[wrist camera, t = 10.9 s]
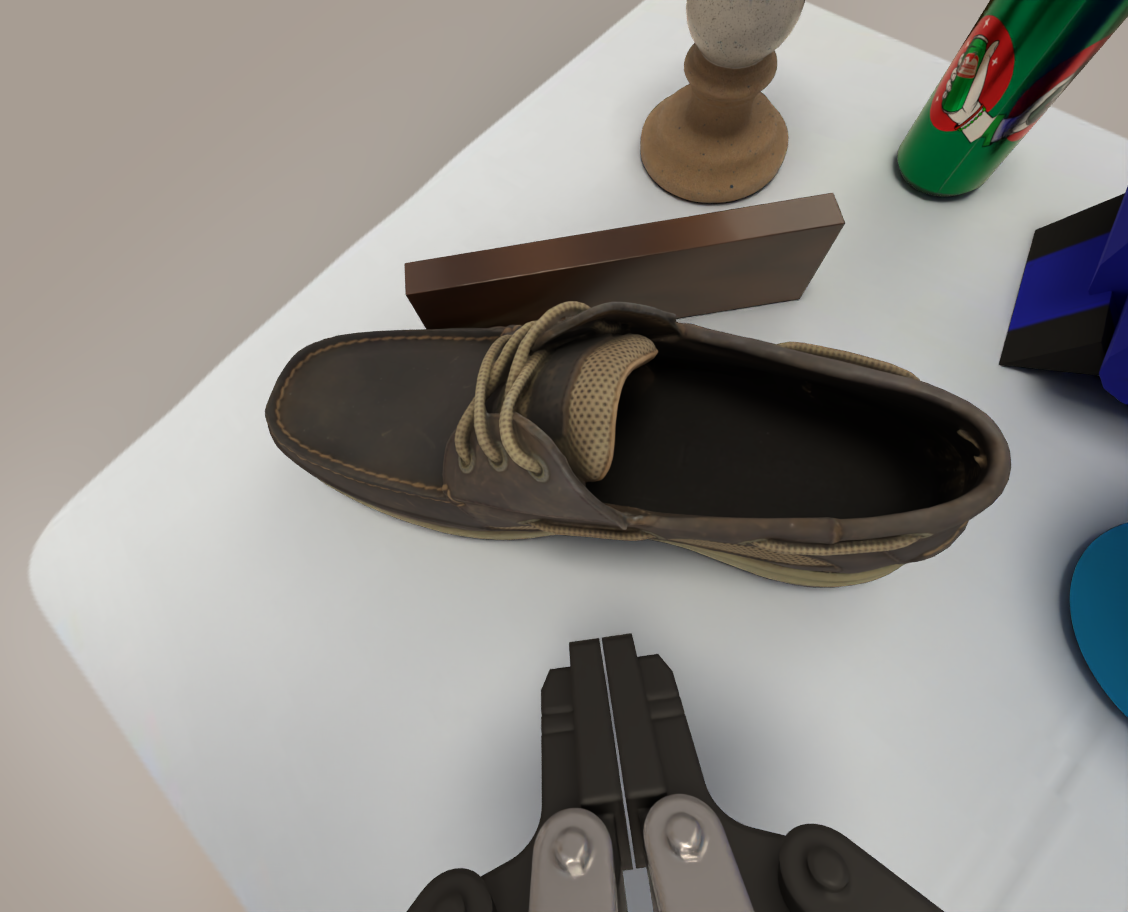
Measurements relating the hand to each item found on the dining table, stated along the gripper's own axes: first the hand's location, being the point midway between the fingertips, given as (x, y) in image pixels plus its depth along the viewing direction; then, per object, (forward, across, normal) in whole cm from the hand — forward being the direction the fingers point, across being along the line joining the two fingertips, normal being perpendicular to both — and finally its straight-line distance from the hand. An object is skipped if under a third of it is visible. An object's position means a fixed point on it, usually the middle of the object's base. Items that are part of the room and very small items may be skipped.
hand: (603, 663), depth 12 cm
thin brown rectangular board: (+20, -4, -4) cm, 21 cm away
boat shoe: (+14, -1, +2) cm, 15 cm away
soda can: (+24, -24, -8) cm, 35 cm away
